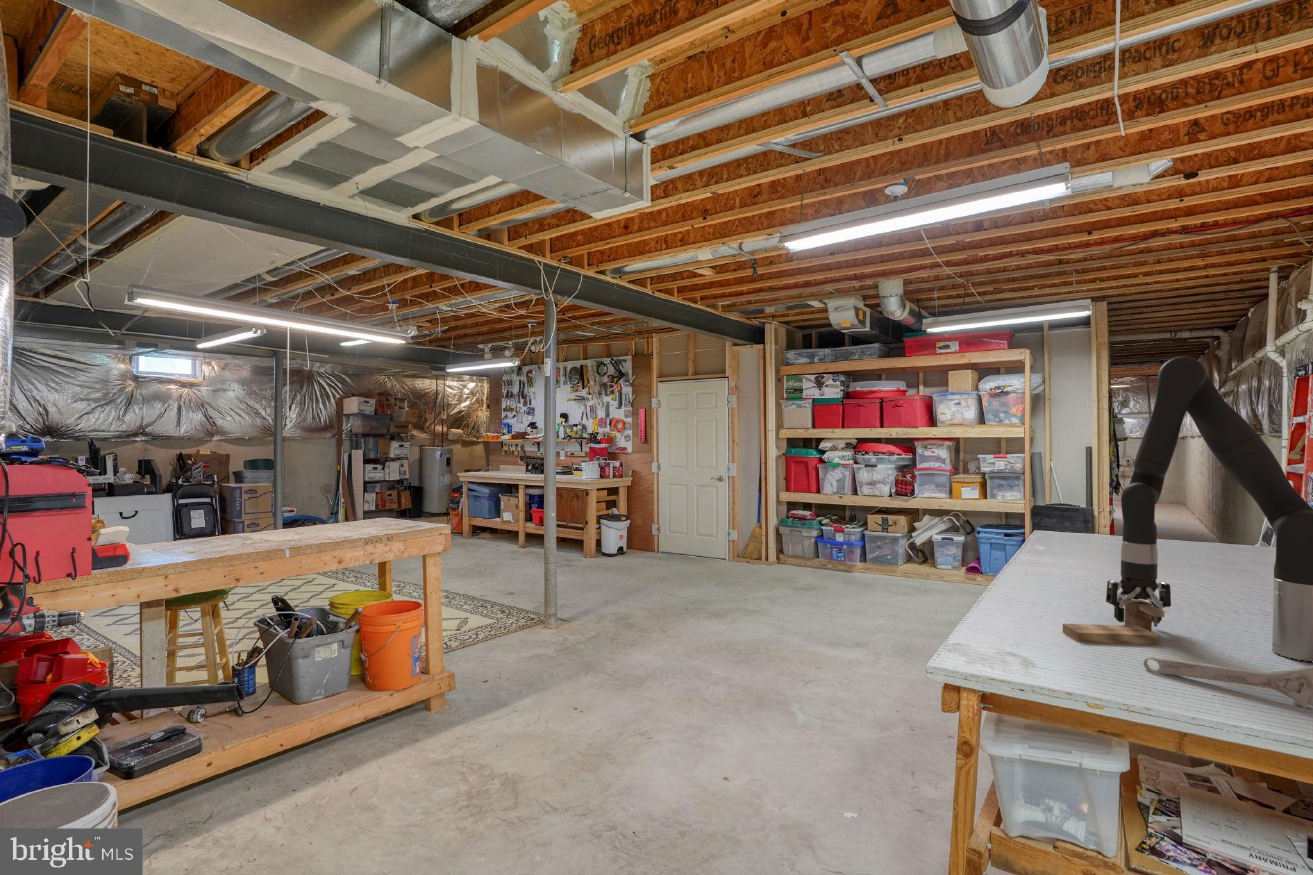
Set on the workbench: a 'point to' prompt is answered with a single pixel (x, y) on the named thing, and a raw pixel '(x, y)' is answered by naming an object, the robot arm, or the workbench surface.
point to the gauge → (1141, 614)
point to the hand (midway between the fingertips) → (1137, 621)
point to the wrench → (1244, 677)
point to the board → (1110, 633)
